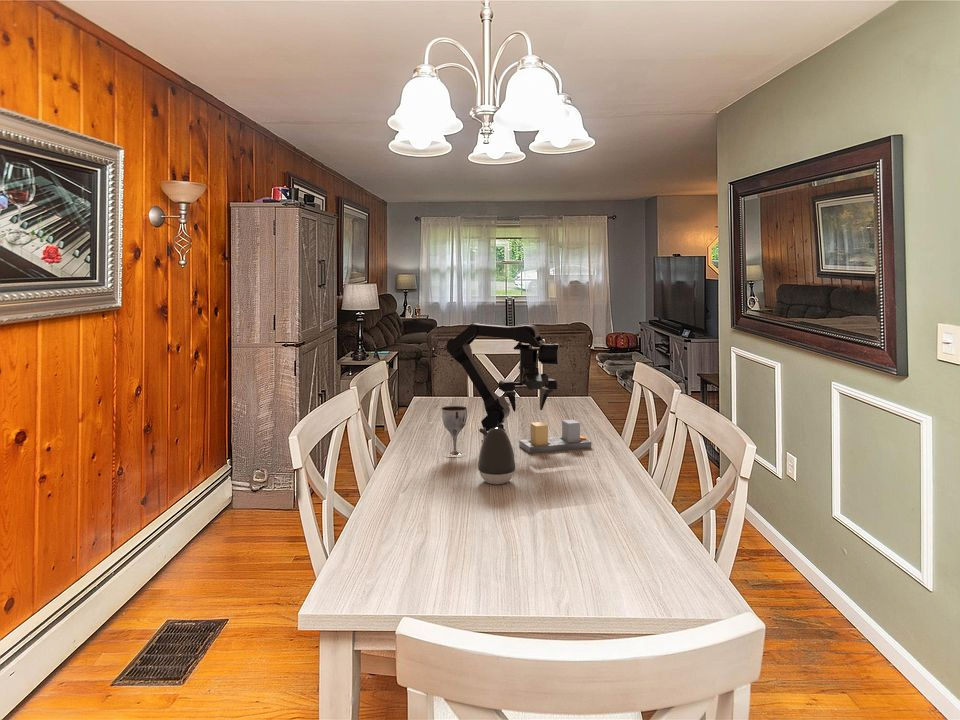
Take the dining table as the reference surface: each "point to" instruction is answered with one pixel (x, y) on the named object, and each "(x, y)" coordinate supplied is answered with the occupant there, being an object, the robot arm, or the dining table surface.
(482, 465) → the dark grey egg shape
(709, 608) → the dining table surface
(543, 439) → the ochre plug
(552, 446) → the grey socket board
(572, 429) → the grey-blue plug
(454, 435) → the wine glass
